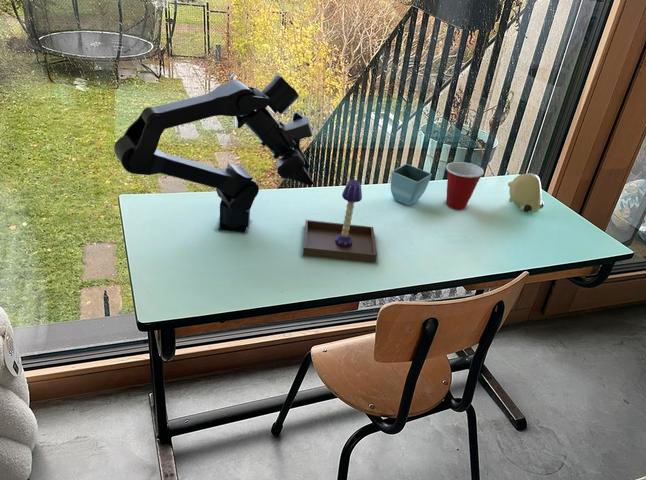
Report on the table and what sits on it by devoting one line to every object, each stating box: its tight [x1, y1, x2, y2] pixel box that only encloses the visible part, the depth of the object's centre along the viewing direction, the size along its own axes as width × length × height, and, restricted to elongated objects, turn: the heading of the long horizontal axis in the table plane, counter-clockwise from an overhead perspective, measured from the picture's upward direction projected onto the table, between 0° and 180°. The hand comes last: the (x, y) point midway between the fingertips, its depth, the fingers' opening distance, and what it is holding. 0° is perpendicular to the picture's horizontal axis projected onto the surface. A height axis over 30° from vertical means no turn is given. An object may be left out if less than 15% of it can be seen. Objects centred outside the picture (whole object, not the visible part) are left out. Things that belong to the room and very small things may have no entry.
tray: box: [302, 219, 378, 264], centre depth 138 cm, size 17×13×2 cm
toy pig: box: [507, 173, 545, 214], centre depth 171 cm, size 10×12×11 cm
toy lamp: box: [335, 179, 363, 247], centre depth 134 cm, size 5×5×17 cm
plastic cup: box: [445, 161, 485, 211], centre depth 164 cm, size 11×11×12 cm
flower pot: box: [390, 163, 432, 207], centre depth 162 cm, size 9×9×9 cm
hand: (310, 175), depth 137 cm, fingers open, 9 cm apart
